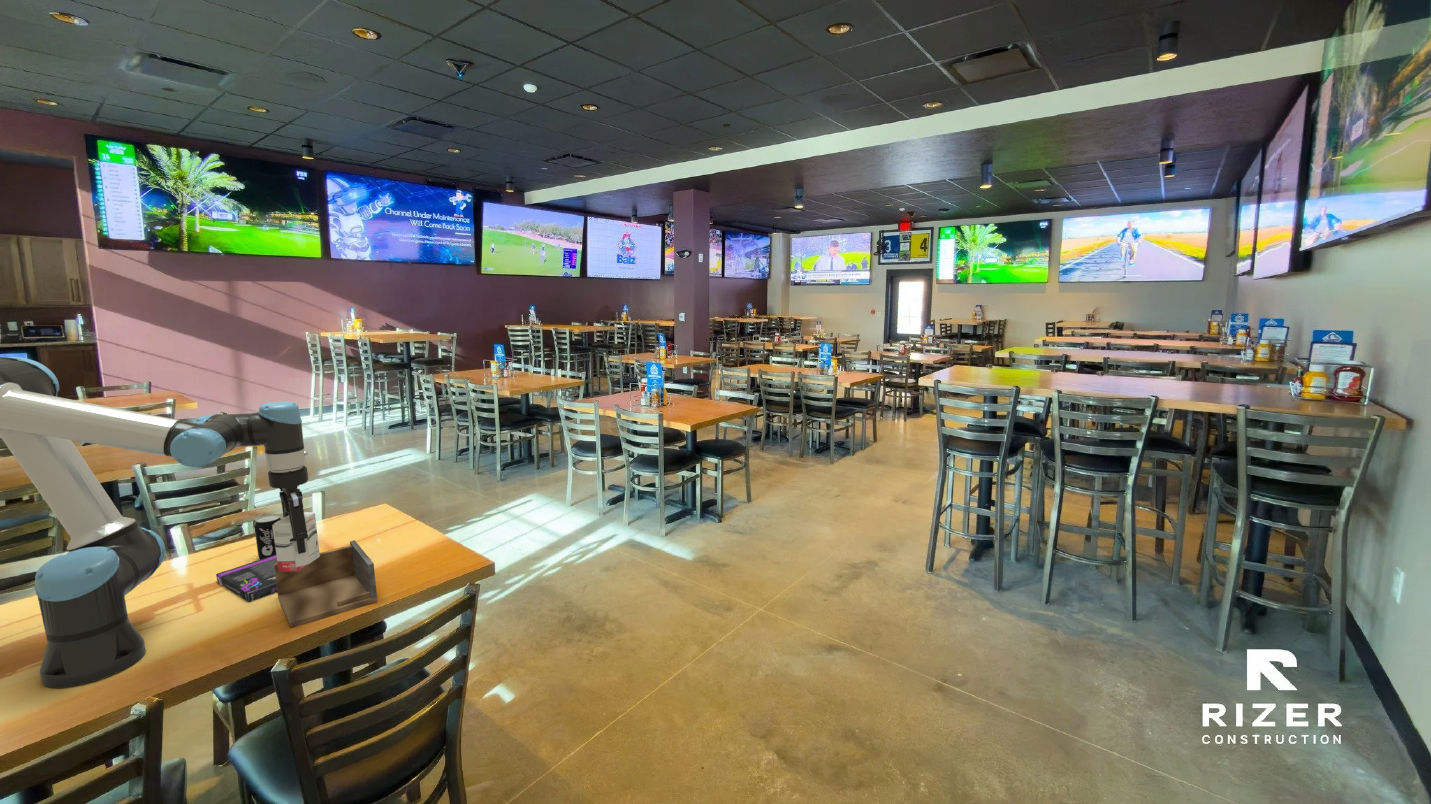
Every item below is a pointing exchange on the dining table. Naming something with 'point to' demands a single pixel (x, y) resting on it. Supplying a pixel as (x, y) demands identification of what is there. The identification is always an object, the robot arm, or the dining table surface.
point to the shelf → (327, 585)
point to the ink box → (284, 545)
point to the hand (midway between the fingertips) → (299, 558)
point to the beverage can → (265, 535)
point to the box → (251, 579)
